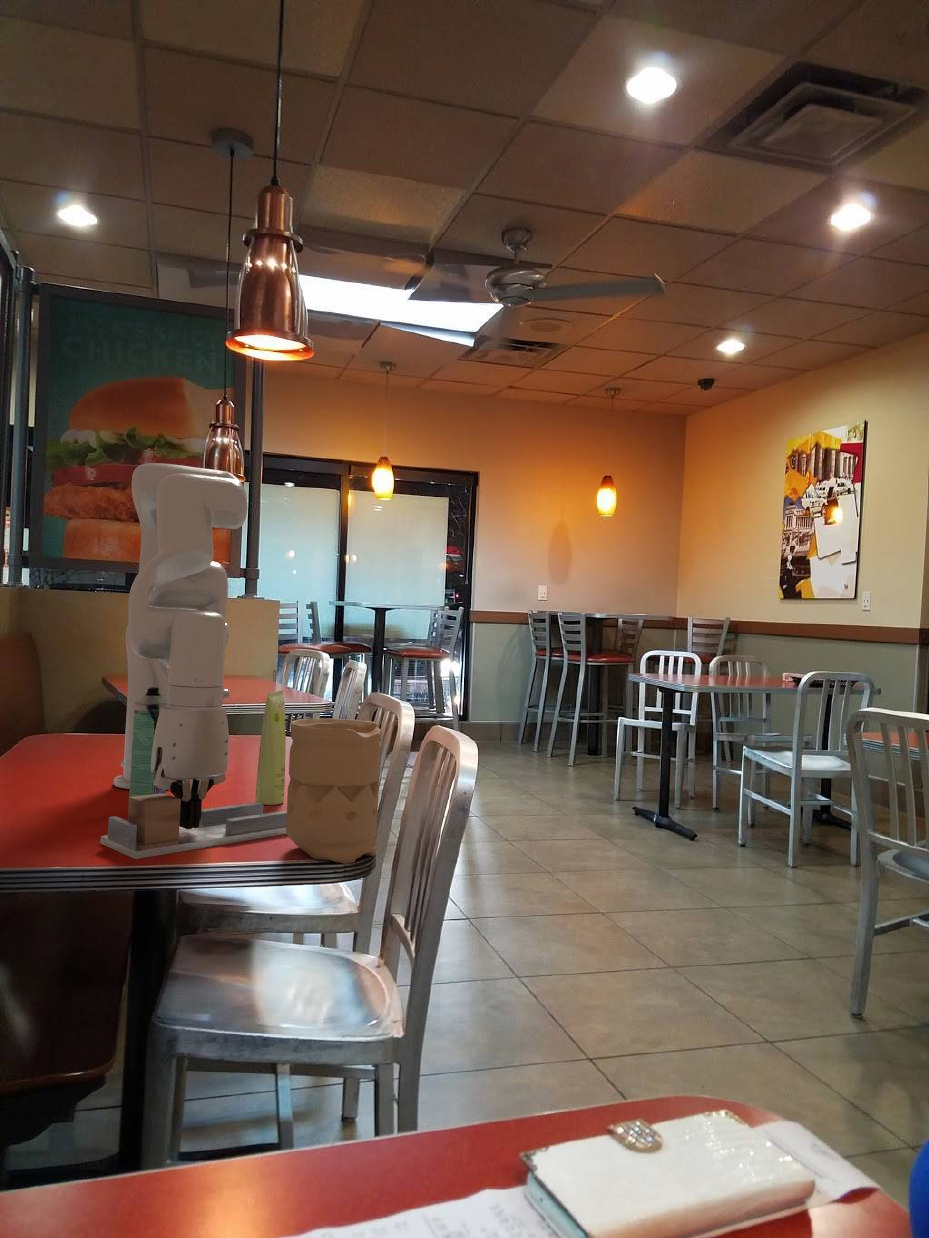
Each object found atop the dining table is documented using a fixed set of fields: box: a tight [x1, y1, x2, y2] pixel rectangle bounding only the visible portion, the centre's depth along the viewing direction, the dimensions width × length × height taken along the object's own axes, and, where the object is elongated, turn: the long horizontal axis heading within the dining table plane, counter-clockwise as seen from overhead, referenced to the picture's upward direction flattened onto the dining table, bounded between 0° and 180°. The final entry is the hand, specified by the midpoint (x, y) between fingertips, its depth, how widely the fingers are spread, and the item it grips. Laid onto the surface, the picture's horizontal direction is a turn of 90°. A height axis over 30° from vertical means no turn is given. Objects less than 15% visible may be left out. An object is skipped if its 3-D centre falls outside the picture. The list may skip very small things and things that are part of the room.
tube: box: [254, 689, 287, 806], centre depth 153 cm, size 6×5×20 cm
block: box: [127, 793, 181, 844], centre depth 121 cm, size 5×5×6 cm
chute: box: [100, 802, 287, 860], centre depth 127 cm, size 10×25×4 cm, turn 137°
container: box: [286, 717, 382, 865], centre depth 122 cm, size 13×13×18 cm
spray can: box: [128, 687, 167, 798], centre depth 142 cm, size 6×6×20 cm
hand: (188, 826), depth 125 cm, fingers closed
